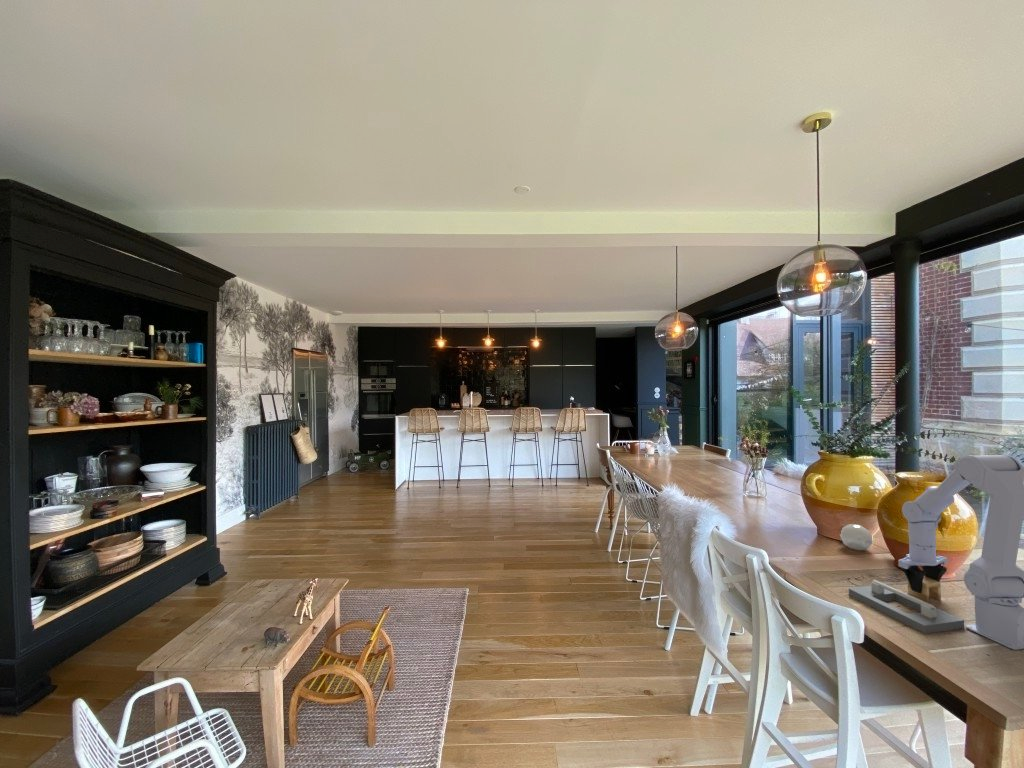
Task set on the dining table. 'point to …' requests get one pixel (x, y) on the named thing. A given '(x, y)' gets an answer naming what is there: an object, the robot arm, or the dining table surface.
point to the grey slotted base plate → (924, 621)
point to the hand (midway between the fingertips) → (924, 590)
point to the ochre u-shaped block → (927, 589)
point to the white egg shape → (856, 537)
